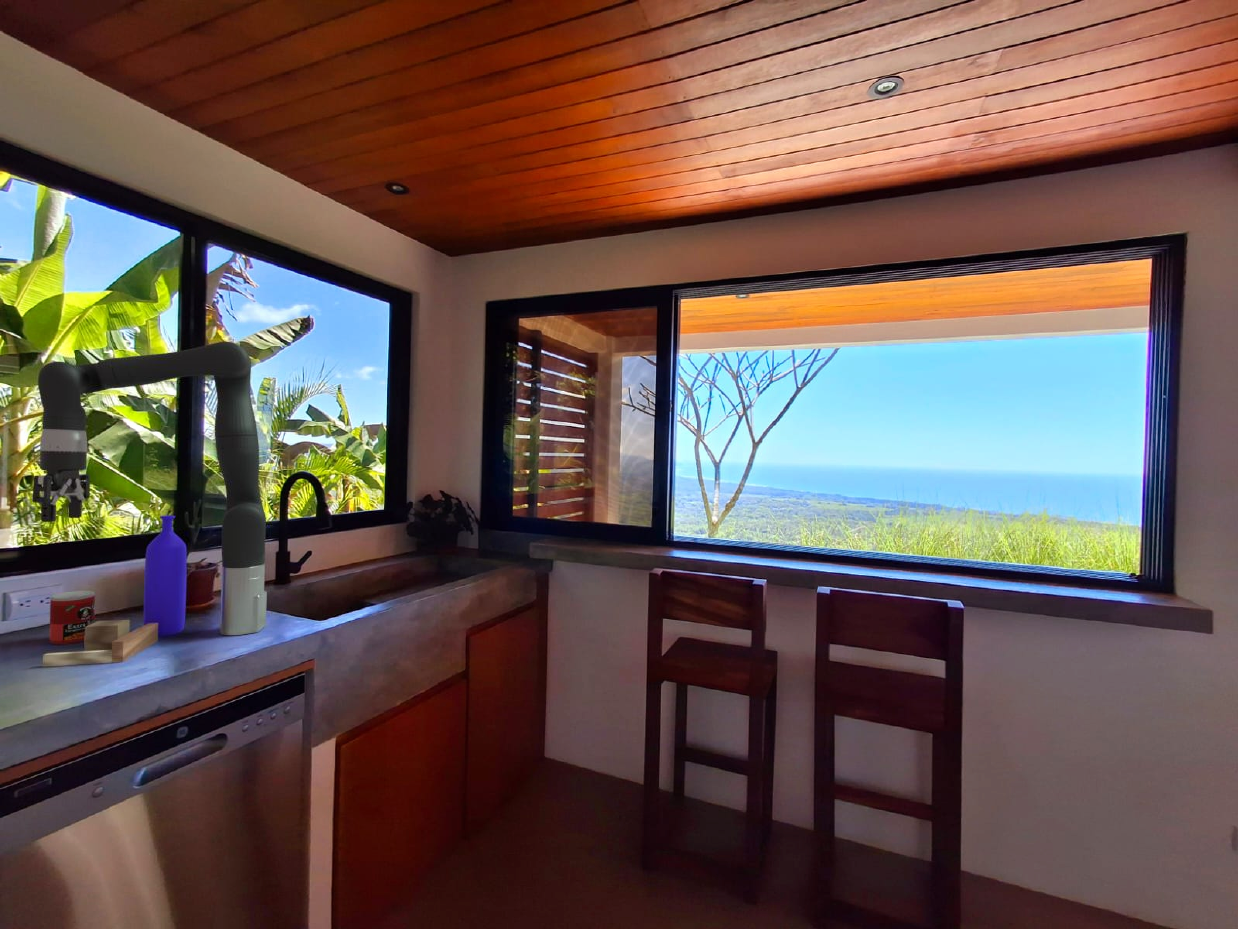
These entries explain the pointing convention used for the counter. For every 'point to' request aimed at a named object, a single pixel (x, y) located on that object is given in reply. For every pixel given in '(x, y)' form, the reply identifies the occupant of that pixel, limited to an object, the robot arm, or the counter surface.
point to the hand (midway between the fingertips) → (62, 519)
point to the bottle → (165, 581)
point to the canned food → (71, 616)
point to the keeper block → (105, 634)
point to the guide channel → (119, 652)
